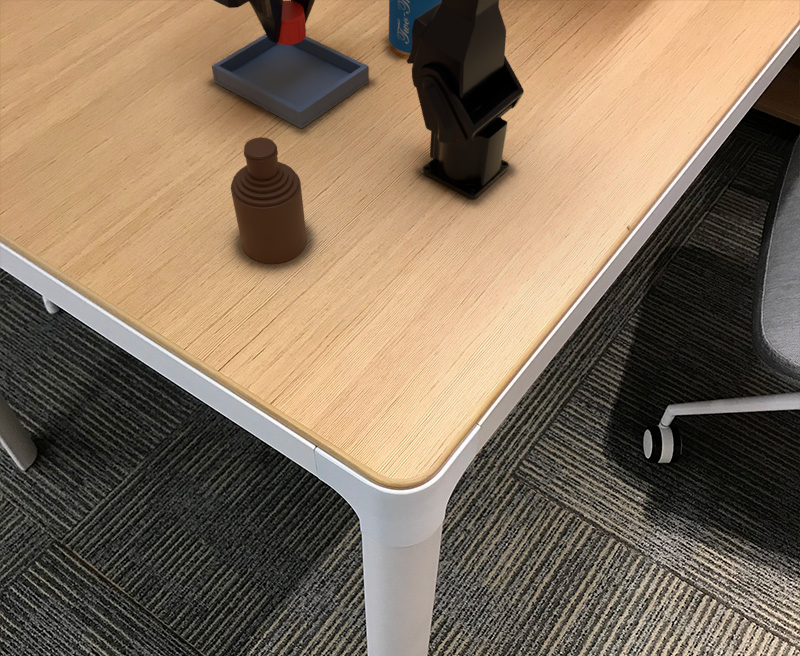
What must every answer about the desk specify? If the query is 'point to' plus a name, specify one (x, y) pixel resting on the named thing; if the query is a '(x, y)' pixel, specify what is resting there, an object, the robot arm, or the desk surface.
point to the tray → (291, 77)
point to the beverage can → (405, 21)
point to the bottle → (268, 205)
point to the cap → (292, 23)
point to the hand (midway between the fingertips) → (287, 33)
